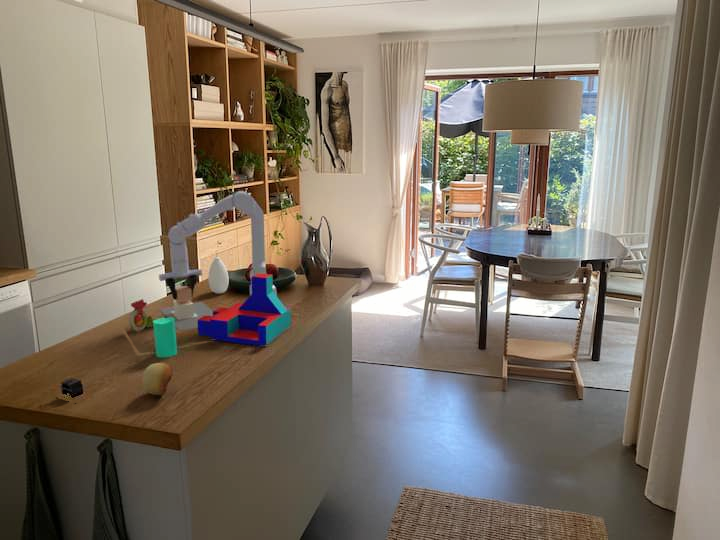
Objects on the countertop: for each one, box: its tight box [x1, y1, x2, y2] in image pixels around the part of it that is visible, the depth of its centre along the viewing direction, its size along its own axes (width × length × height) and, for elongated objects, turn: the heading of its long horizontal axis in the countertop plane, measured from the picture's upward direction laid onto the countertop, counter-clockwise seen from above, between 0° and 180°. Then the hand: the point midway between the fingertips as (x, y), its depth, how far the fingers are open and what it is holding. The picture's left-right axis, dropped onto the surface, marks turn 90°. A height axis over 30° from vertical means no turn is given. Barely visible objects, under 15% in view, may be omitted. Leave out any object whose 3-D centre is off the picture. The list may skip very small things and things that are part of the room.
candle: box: [152, 315, 178, 358], centre depth 164 cm, size 6×6×12 cm
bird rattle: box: [128, 299, 154, 332], centre depth 184 cm, size 6×11×9 cm
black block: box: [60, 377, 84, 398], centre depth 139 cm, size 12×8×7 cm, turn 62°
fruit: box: [141, 362, 174, 396], centre depth 138 cm, size 8×8×8 cm
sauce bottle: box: [207, 251, 230, 294], centre depth 227 cm, size 8×8×18 cm
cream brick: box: [172, 299, 194, 318], centre depth 200 cm, size 5×9×4 cm, turn 32°
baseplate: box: [159, 301, 214, 332], centre depth 199 cm, size 16×30×1 cm, turn 32°
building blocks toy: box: [197, 273, 291, 346], centre depth 180 cm, size 19×25×18 cm
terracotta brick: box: [173, 285, 193, 303], centre depth 199 cm, size 5×5×4 cm
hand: (182, 297), depth 199 cm, fingers closed on terracotta brick, 5 cm apart
